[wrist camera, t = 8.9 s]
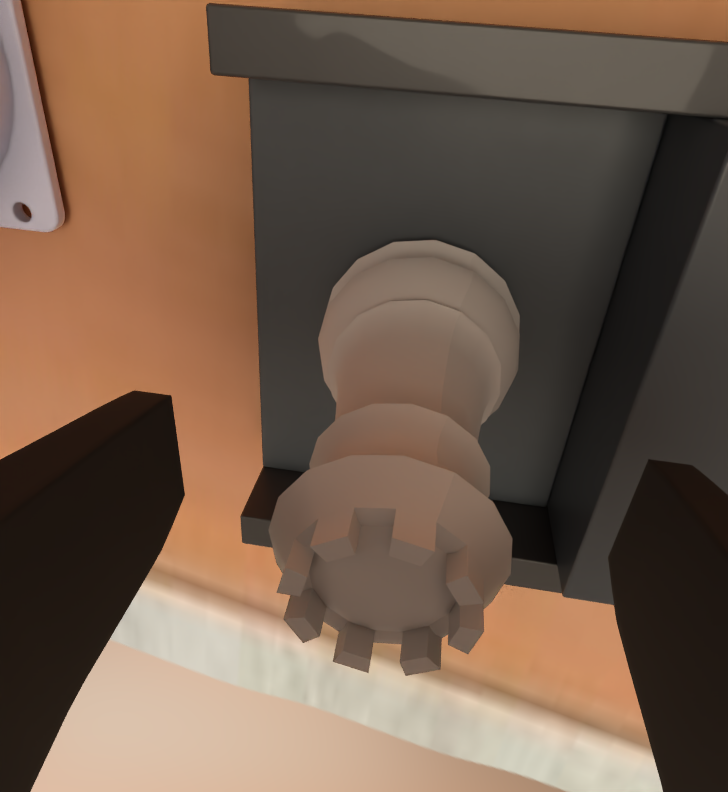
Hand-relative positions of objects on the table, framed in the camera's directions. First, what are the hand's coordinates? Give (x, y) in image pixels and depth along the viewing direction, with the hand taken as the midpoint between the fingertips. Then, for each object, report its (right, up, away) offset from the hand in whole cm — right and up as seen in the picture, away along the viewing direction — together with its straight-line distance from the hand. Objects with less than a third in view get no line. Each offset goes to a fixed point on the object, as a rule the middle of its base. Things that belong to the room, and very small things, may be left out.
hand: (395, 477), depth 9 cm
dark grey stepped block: (+4, +4, +6) cm, 9 cm away
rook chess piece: (+1, +3, +5) cm, 6 cm away
